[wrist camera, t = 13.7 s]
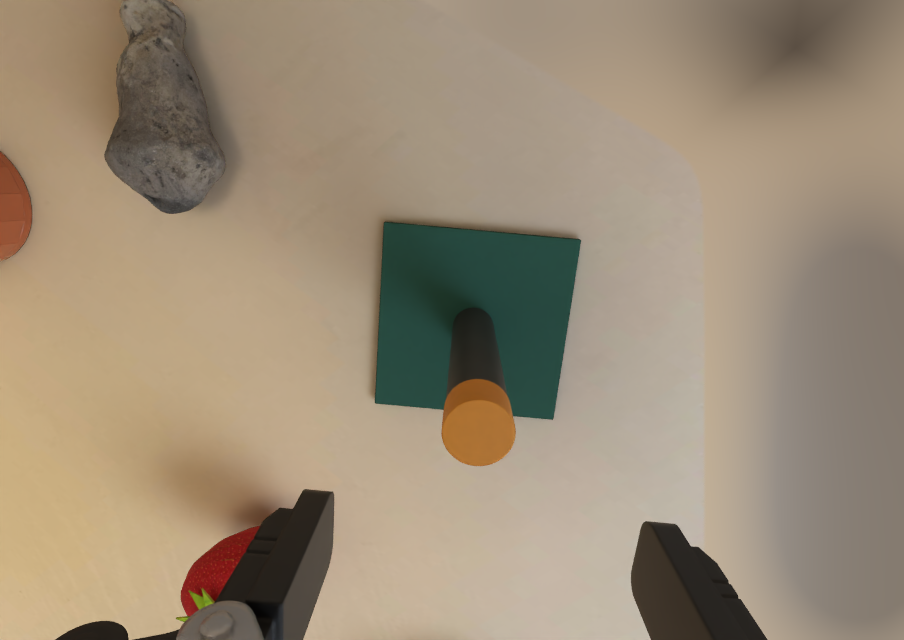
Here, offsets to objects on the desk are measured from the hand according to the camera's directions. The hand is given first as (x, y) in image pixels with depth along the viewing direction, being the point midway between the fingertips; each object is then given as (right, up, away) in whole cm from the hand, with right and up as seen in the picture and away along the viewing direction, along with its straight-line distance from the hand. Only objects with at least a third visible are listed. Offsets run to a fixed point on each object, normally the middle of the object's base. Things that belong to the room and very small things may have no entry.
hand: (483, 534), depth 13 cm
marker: (+1, +5, +19) cm, 19 cm away
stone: (-17, +18, +17) cm, 29 cm away
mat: (+1, +5, +19) cm, 20 cm away
